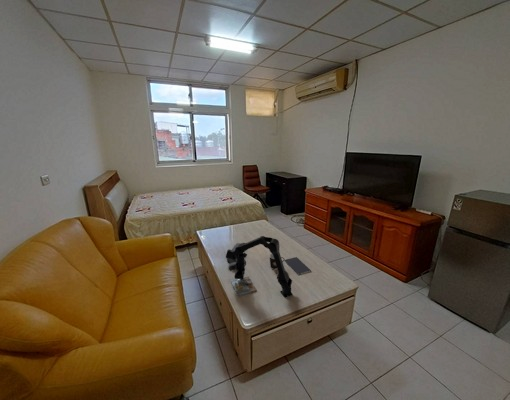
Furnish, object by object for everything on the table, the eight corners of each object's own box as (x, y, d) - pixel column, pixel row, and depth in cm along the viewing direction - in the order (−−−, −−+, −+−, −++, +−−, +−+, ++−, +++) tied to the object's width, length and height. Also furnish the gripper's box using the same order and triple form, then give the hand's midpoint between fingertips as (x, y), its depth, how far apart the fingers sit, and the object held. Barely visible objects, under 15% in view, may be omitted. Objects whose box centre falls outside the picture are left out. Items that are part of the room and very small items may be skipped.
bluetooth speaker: (237, 266, 178) (236, 256, 175) (226, 265, 180) (225, 255, 177) (243, 252, 199) (243, 243, 197) (234, 251, 201) (234, 242, 198)
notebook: (311, 272, 172) (296, 258, 191) (311, 270, 172) (296, 256, 191) (297, 275, 168) (284, 261, 187) (297, 273, 167) (284, 259, 186)
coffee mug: (267, 268, 176) (267, 257, 173) (271, 262, 184) (271, 252, 181) (281, 271, 172) (281, 260, 169) (284, 266, 179) (284, 255, 176)
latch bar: (251, 282, 157) (251, 278, 156) (250, 285, 154) (250, 281, 153) (238, 280, 159) (238, 276, 158) (237, 283, 156) (237, 279, 155)
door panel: (256, 291, 150) (256, 286, 149) (237, 296, 145) (237, 292, 144) (248, 277, 164) (248, 273, 163) (230, 282, 159) (230, 278, 158)
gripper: (231, 253, 164) (232, 270, 168) (226, 268, 146) (227, 287, 151) (246, 253, 163) (246, 271, 168) (243, 269, 145) (243, 288, 150)
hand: (240, 278), depth 159 cm, fingers closed
